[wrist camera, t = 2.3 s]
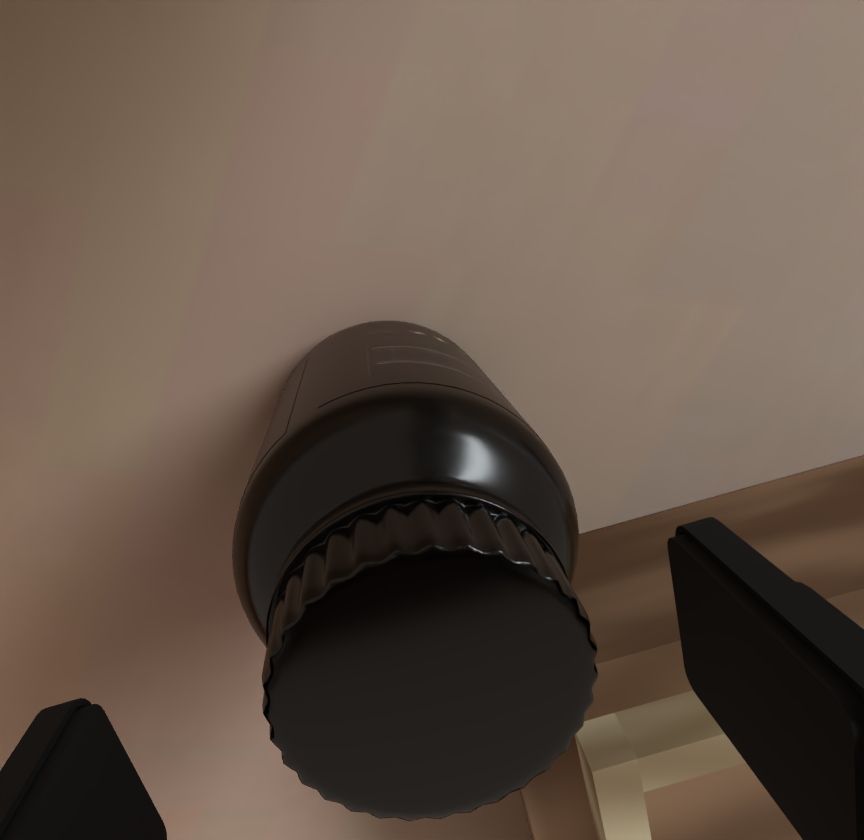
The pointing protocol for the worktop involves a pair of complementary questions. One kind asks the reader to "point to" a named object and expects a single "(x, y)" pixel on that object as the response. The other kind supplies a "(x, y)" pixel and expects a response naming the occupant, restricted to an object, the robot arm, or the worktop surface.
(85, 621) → the worktop surface
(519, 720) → the supplement bottle
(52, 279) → the worktop surface
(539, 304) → the worktop surface
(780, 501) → the display riser
